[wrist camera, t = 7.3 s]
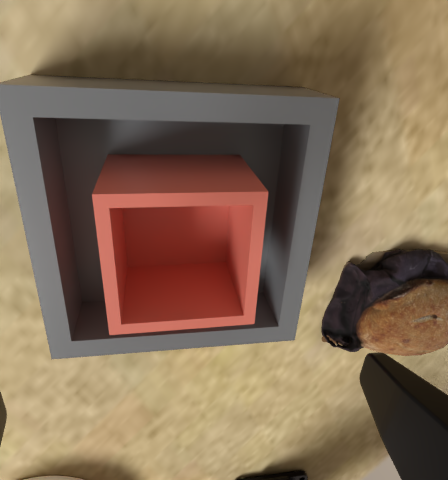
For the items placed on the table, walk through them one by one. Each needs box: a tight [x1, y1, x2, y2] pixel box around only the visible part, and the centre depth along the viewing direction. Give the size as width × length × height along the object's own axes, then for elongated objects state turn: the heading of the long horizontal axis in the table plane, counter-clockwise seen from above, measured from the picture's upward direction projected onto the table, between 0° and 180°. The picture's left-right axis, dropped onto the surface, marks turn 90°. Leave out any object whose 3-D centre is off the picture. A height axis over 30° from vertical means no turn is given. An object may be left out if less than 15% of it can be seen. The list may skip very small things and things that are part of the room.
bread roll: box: [322, 249, 448, 356], centre depth 24 cm, size 11×8×4 cm
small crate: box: [92, 154, 268, 335], centre depth 16 cm, size 6×6×5 cm
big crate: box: [0, 75, 340, 359], centre depth 18 cm, size 12×12×4 cm
